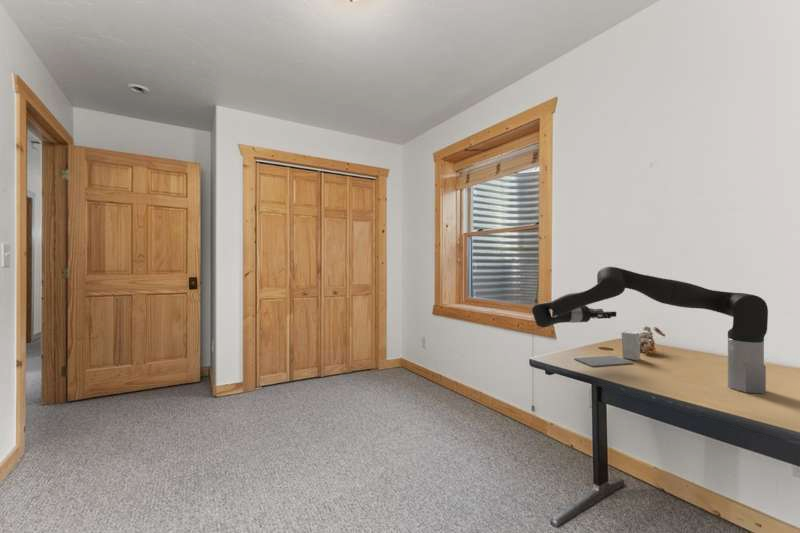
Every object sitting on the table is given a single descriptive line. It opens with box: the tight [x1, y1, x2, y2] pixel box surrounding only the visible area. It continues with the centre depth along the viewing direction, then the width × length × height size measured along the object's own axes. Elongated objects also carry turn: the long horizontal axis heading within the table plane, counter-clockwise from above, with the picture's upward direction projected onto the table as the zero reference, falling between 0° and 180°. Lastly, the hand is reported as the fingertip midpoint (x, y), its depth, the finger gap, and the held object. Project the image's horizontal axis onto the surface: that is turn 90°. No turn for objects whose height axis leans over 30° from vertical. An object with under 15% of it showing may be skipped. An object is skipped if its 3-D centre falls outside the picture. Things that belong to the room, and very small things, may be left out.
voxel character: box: [639, 326, 666, 356], centre depth 179 cm, size 11×10×15 cm
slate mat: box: [574, 355, 634, 368], centre depth 165 cm, size 20×12×1 cm, turn 99°
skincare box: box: [621, 330, 641, 361], centre depth 169 cm, size 6×4×12 cm
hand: (608, 312), depth 167 cm, fingers open, 8 cm apart
